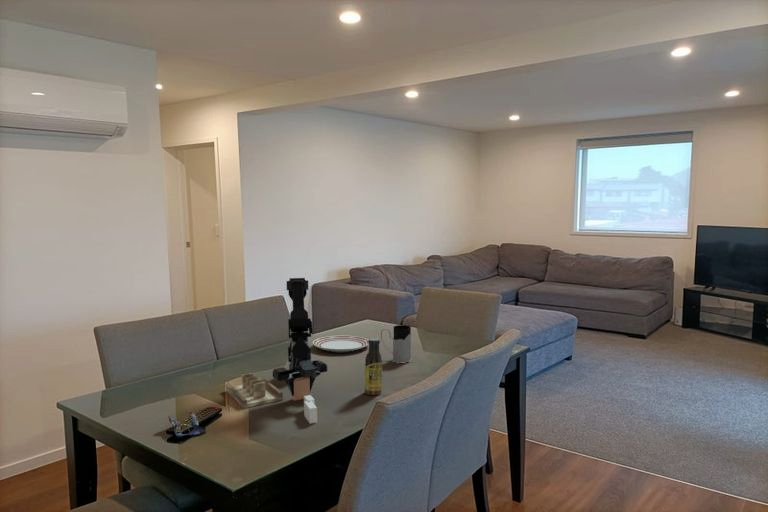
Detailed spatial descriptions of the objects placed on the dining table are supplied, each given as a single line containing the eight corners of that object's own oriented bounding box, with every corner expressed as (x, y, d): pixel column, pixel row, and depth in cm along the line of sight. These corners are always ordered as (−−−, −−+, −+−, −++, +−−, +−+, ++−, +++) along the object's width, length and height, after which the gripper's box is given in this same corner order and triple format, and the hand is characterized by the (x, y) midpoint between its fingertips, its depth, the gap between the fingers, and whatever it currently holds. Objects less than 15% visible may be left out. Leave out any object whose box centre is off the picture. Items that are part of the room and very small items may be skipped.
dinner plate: (338, 337, 272) (338, 331, 272) (381, 345, 256) (381, 339, 256) (300, 349, 250) (300, 343, 250) (344, 359, 234) (344, 352, 234)
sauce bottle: (369, 397, 187) (368, 342, 185) (361, 391, 193) (361, 338, 191) (385, 394, 190) (385, 340, 188) (377, 388, 196) (377, 336, 194)
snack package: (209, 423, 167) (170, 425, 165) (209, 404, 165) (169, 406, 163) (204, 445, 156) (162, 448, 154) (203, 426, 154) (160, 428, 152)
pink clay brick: (307, 395, 189) (307, 376, 189) (309, 397, 188) (309, 378, 187) (292, 399, 186) (291, 379, 185) (294, 400, 184) (293, 381, 184)
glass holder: (409, 364, 226) (409, 330, 224) (377, 361, 230) (377, 327, 229) (414, 358, 234) (414, 325, 232) (384, 355, 238) (384, 323, 237)
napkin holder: (319, 428, 163) (319, 410, 162) (285, 424, 166) (285, 406, 165) (336, 409, 177) (335, 393, 177) (304, 406, 180) (304, 390, 180)
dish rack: (262, 383, 202) (262, 368, 201) (282, 399, 185) (282, 382, 185) (226, 391, 194) (225, 374, 194) (243, 408, 178) (243, 390, 177)
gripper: (283, 360, 173) (285, 406, 175) (334, 351, 184) (334, 395, 185) (271, 353, 183) (272, 396, 184) (320, 344, 193) (320, 386, 194)
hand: (300, 393), depth 187 cm, fingers closed on pink clay brick, 6 cm apart
